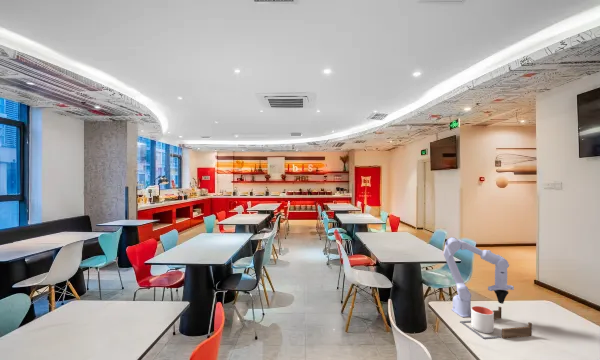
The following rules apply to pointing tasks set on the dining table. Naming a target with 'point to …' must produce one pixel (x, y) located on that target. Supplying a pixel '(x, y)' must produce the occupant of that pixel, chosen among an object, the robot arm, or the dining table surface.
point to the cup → (482, 319)
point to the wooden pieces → (513, 331)
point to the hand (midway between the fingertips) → (500, 302)
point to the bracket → (477, 332)
